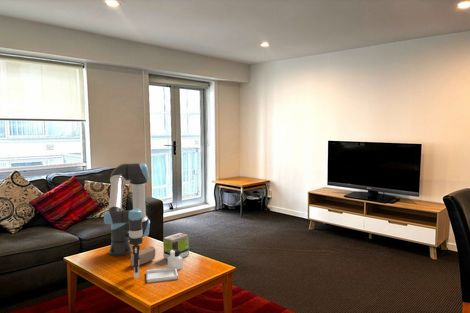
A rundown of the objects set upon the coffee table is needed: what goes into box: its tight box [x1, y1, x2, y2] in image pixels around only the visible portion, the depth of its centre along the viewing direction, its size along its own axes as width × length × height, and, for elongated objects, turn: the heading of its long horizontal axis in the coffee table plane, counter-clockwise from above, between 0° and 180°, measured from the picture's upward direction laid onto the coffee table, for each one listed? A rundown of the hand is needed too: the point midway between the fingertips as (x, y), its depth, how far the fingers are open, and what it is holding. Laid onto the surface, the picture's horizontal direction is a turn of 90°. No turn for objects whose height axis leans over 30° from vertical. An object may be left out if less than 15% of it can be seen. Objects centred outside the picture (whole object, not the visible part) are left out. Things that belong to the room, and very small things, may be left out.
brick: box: [130, 245, 156, 267], centre depth 225 cm, size 16×8×5 cm
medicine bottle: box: [167, 249, 184, 271], centre depth 218 cm, size 7×7×12 cm
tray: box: [145, 267, 179, 284], centre depth 206 cm, size 14×18×2 cm
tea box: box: [162, 232, 190, 260], centre depth 237 cm, size 15×10×15 cm, turn 141°
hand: (136, 274), depth 202 cm, fingers open, 9 cm apart
